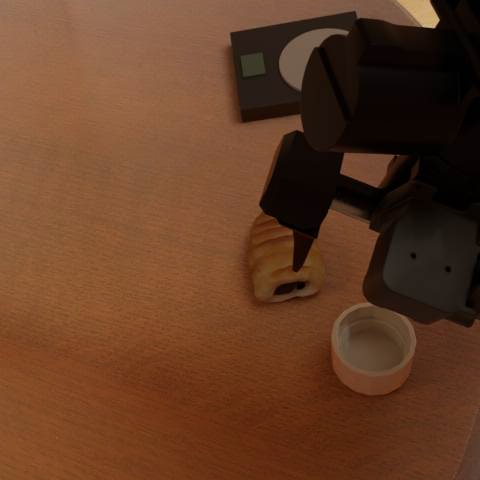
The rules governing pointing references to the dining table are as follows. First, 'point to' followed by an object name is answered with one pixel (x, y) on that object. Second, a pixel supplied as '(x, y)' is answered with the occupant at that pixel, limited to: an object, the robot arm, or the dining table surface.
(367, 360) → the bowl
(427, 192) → the robot arm
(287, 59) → the scale
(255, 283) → the pastry
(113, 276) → the dining table surface
